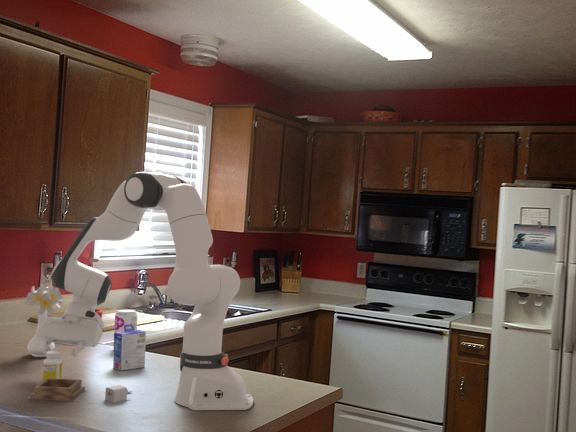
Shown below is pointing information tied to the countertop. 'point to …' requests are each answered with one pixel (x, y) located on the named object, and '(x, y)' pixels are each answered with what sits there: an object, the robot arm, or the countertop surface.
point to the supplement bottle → (52, 365)
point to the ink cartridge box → (129, 349)
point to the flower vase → (42, 313)
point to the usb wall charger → (116, 393)
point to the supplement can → (125, 319)
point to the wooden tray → (58, 389)
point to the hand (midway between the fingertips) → (59, 354)
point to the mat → (63, 400)
